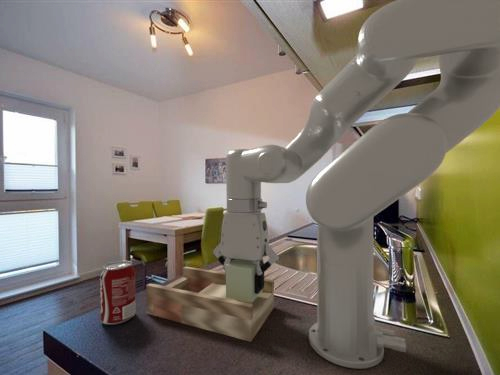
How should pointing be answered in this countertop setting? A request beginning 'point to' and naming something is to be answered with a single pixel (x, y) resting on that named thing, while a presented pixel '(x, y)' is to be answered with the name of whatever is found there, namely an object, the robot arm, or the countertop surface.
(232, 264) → the sage block
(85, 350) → the countertop surface
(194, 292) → the channel track
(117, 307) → the soda can
